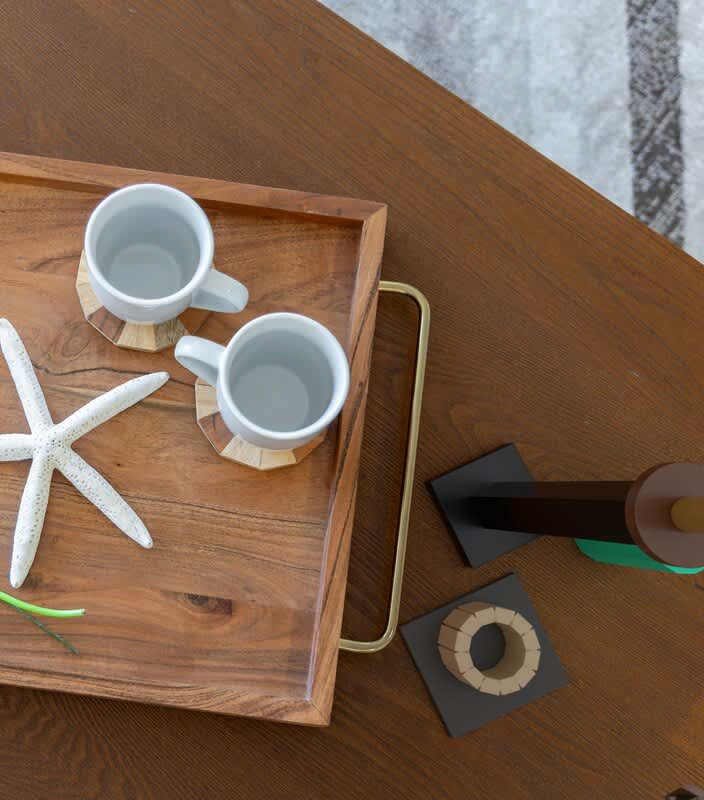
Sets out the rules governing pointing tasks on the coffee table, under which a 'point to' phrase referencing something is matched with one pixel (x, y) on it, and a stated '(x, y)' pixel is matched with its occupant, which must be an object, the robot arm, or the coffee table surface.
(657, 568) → the candle
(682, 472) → the stand
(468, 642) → the tan segmented ring
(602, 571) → the coffee table surface
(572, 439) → the coffee table surface
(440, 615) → the mat
